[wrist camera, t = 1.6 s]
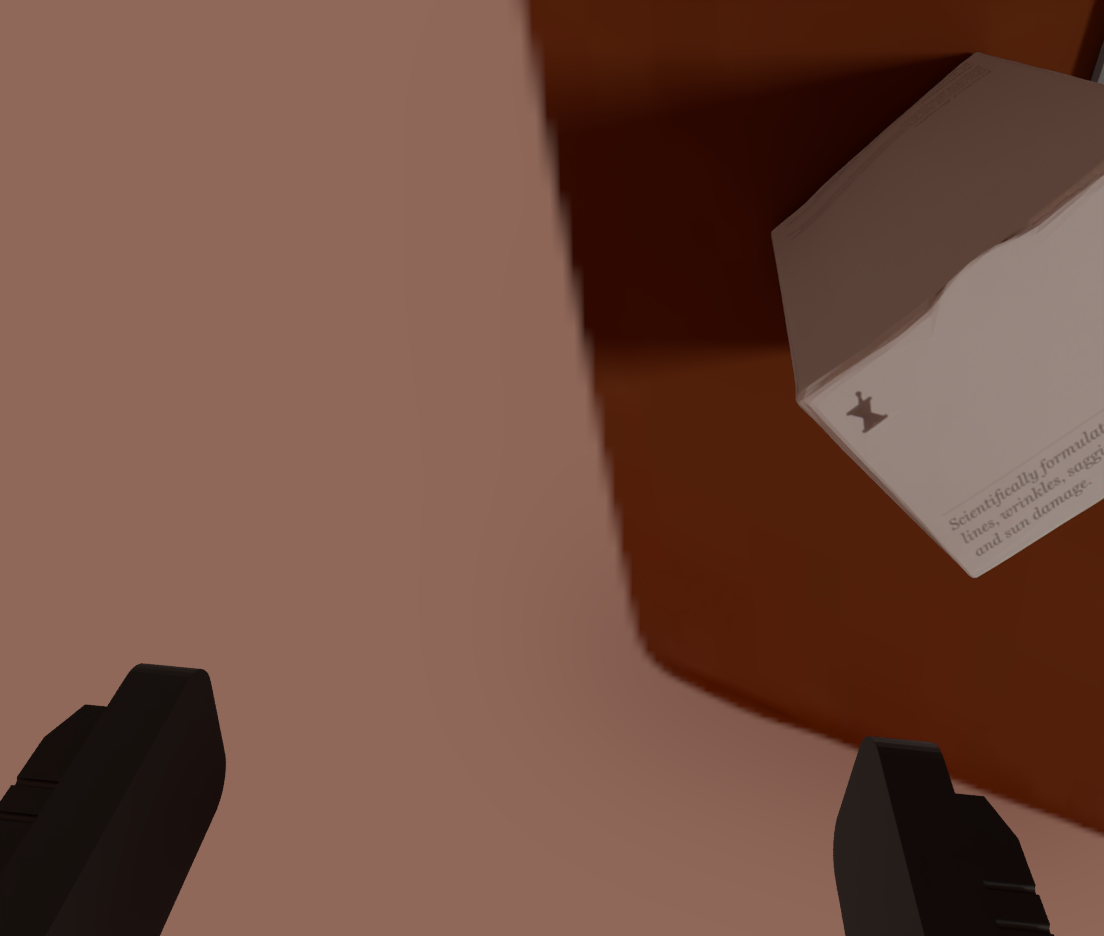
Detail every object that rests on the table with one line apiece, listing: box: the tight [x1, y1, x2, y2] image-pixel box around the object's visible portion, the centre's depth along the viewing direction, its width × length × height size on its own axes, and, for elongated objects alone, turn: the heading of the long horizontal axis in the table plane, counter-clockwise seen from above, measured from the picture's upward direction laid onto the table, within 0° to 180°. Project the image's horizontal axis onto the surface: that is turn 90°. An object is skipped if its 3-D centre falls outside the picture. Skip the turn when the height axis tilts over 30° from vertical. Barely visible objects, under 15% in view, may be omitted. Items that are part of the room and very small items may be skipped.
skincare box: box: [771, 52, 1104, 578], centre depth 25 cm, size 8×6×15 cm
